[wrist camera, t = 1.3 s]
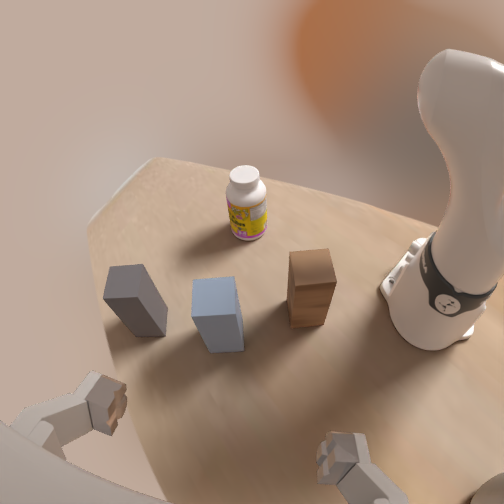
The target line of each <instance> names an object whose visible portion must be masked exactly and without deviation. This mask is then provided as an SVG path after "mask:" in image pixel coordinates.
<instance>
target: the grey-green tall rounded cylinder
mask: <svg viewBox="0 0 504 504" xmlns="http://www.w3.org/2000/svg"><path fill="white" fill-rule="evenodd" d="M470 504H504V473H501V474H498V475H496V476H495V477H493V478H491V479H490V480H488V481H487V482H486V483H484V484H483V485H482V486H481V487H480V488H479V489H478V490H477V492H476V493H475V495H474V496H473V498H472V500H471V503H470Z"/></svg>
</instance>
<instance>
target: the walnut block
mask: <svg viewBox="0 0 504 504" xmlns="http://www.w3.org/2000/svg"><path fill="white" fill-rule="evenodd" d="M336 283H337V280H336V276H335V272H334V268H333V264H332V260H331V256H330V252H329V249H318V250H306V251H295V252H290V256H289V273H288V289H287V305H288V312H289V320H290V327H291V328H300V327H309V326H318V325H324V322H325V319H326V316H327V312H328V309H329V306H330V303H331V300H332V296H333V293H334V290H335V286H336Z"/></svg>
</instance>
